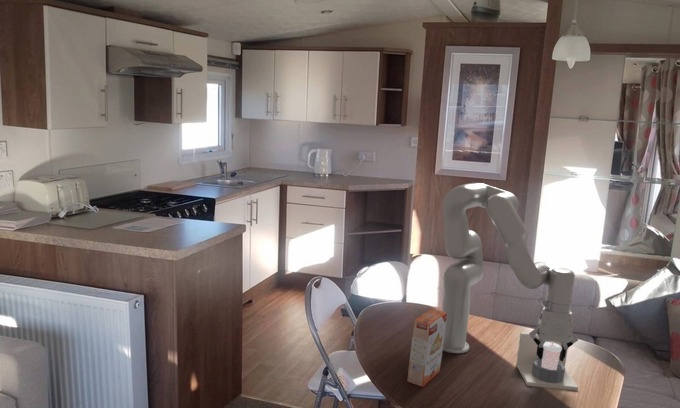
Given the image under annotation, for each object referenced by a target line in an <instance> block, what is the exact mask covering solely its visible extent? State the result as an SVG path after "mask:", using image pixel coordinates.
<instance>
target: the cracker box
mask: <svg viewBox="0 0 680 408" xmlns="http://www.w3.org/2000/svg"><path fill="white" fill-rule="evenodd" d="M446 319H447V313H445V312H442V310H438V309H434V308H431V309H429V310H427V311H426V312H425V313H423V314H421V315H420V316H419V317H417V318H415V319H414V320H413V328H412V336H411V346H410V354H409V355H410V356H409V362H408V363H409V364H408V373H407V380H406V382H407V383H409V384H413V385H415V386H418V387H420V388H424V387H425V386H426V385H427V384H428V383H429V382H431V380H433V379H434V378H435V377H436V376H437V375H438V374H439V373H440V372H441V364H442V357H443V351H442V350H443V342H444V334H445V327H446Z"/></svg>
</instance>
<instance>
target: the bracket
mask: <svg viewBox="0 0 680 408" xmlns="http://www.w3.org/2000/svg"><path fill="white" fill-rule="evenodd" d="M529 333H530V332H520V336H519V341H518V349H517V356H516V357H517V358H516V364H515V366H516V367H517V369H518V371H519V373H520V375H521V377H522V378H523V380H524V383H525V384H526V386H528V387H537V388H538V387H539V388H547V389H558V390H565V391H567V390H568V391H576V392H577V391H579V386H578V384H577V383H576V382H575V380H574V379H573V378H572V376H571V375H570V373H569V372H568V370H567V369H566V362H567V355H568V350H566V355H565V358H564V360H563V361H560V359H559V361H558V365H557V370H549V369H546V368H543V367H541V366H542V359H539V357H538V356H537V346H538V345H537V344H536V343H535V342H534V340H533V339H532V338H531V337H530V335H529ZM535 337H536V338H537V339H539V335H537V334H536V335H535ZM545 342H549V341H545ZM553 343H556V344H558V345H560V346H561V343H559V342H553Z"/></svg>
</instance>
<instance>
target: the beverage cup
mask: <svg viewBox="0 0 680 408" xmlns="http://www.w3.org/2000/svg"><path fill="white" fill-rule="evenodd" d="M543 348H544V351H543V358H542V366H541V367H543V368H546V369H549V370H557V365H558V361H559V356H560V352H561V350H562V347H561V346H560V345H558V344H556V343H553V342H545V343H544V345H543Z"/></svg>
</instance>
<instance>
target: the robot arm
mask: <svg viewBox="0 0 680 408" xmlns="http://www.w3.org/2000/svg"><path fill="white" fill-rule="evenodd" d="M477 207H479V208H483V209H485V210H486V213H487V215H488V216H489V218H490V219H491V222H492V223H493V225H494V227H495V228H496V231H497V232H498V233H499V236H500V237H501V239H502V241H503V243H504V250H505V253H506V257H507V261H508V264H509V266H510V268H511V270H512V272H513V274H514V275H515V277H516V279H517V280H518V282H519V283H520V284H521V285H522V286H523V287H524V288H525V289H527V290H531V291H532V290H537V289H539V288H541V287H544V286H547V291H546V298H545V300H544V301H541V303H540V305H541V306H543V307H542V309H541V312H540V315H539V318H538V324H537V326H536V328H533V330H531V331H530V332H528V333H529V335H530V337H531V338H532V339H533V340H534V342H535V343H536V344H537V345H538V346H537V356H538V357H539V359H542V358H543V351H544V348H543V345H544V343H545V341H549V342H559V343H561V347H562V350H561V352H560V356H559V359H560V361H563V360H564V358H565V355H566V350H567V351H568V350H569V348H570V347H572V346H573V345H574V344H575V343H576V342H578V341H579V339H578V337H577V336H576V335H575V334H574V333H573V329H574V328H573V327H574V324H573V323H574V322H573V319H574V318H573V317H574V316H573V312H572V311H571V305H572V298H573V292H574V284H575V277H576V275H575V272H574V271H573V270H571V269H568V268H564V267H557V266H555V265H553V264H552V265H551V264H549V263H546V262H543V261H538V262H534V261H533V259H532V257H531V256H530V252H529V250H528V245H527V243H528V235H529V233H528V232H529V231H528V229H527V226H526V225H525V224H524V222H523V220H522V218H521V217H520V215H519V213H518V210H519V208H520V200H519V199H518V197H517V196H516V194H514V193H512V192H510V191H508V190H504V189H500V188H498V187H494V186H491V185H489V184H485V183H482V182H471V183H465V184H460V185H457V186H455V187H453V188H451V189H450V190H448V192H447V193H446V195H445V196H444V198H443V201H442V215H443V227H444V228H443V229H444V243H445V252H446V254H447V256H448V257H450V259H453V260H458V261H456V262H454V263H452V264H450V265H449V266H448V267H447V268H446V269H445V271H444V274H443V299H442V309H441V311H442V312H445V313H447V319H446V327H445V334H444V342H443V350H442V352H446V353H450V354H464V353H467V352H468V351H470V345H469V343H468V342H467V341H466V340H467V335H468V334H467V332H468V323H469V317H470V316H469V315H470V308H471V307H470V306H471V293H470V287H471V286H473V285H475V284H477V283H478V282H480V281H481V279H482V277H483V276H484V260H483V259H484V258H483V257H484V256H483V245H482V240H481V238H480V236H479V234H478V233H477V232H475V231H474V230H472V229H469V218H468V215H467V213H466V211H467V210H468V209H471V208H477ZM536 334H537V335H539V339H537V338H536V337H535V335H536Z"/></svg>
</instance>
